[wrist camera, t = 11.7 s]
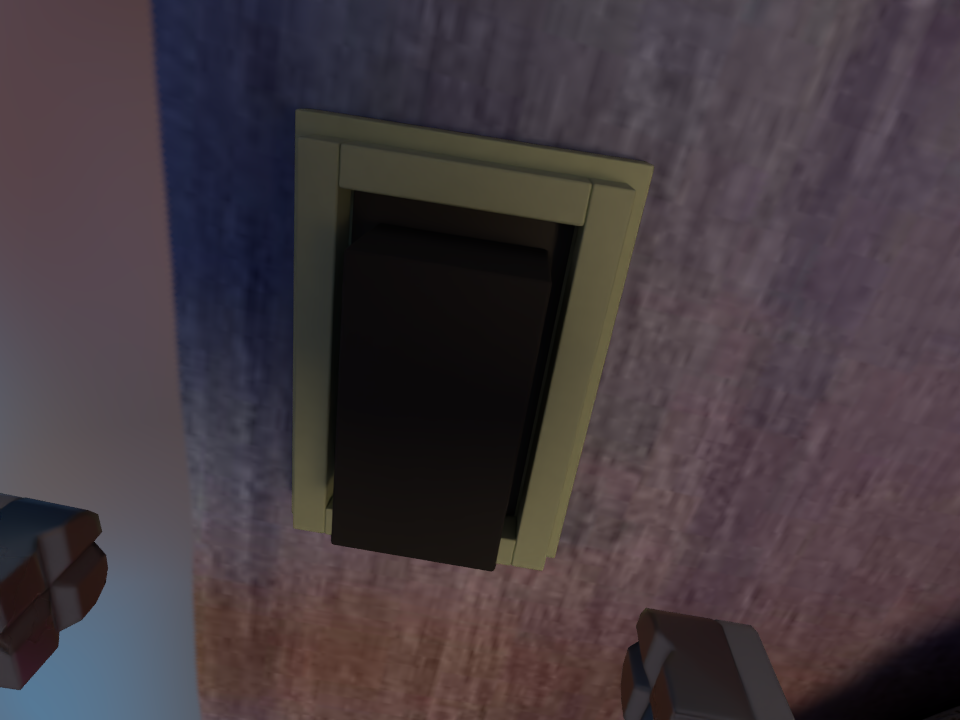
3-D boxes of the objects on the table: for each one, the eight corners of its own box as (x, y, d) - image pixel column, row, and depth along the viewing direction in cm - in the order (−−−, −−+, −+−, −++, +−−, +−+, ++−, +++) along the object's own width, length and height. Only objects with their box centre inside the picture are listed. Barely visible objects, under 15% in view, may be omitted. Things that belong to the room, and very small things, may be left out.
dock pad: (308, 108, 15) (274, 108, 13) (647, 161, 15) (666, 170, 13) (302, 495, 20) (276, 538, 18) (553, 537, 20) (556, 586, 18)
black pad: (378, 221, 15) (342, 248, 12) (548, 249, 15) (552, 282, 12) (360, 478, 18) (329, 545, 15) (499, 502, 18) (494, 573, 15)
